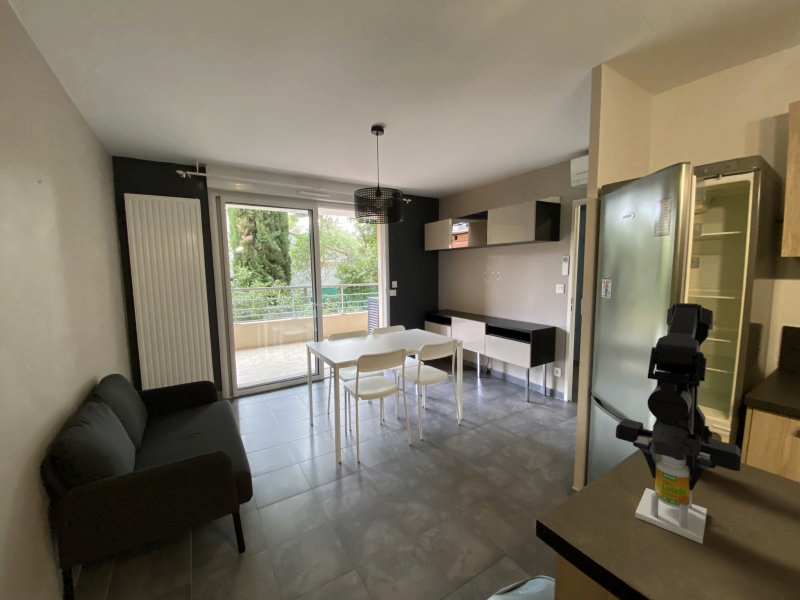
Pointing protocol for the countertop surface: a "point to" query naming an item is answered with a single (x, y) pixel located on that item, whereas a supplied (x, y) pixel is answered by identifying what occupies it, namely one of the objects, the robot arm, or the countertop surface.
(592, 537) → the countertop surface
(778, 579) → the countertop surface
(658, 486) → the supplement bottle
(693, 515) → the pin tray
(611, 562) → the countertop surface
